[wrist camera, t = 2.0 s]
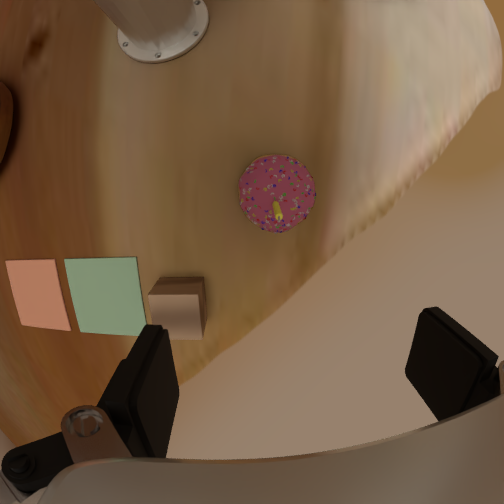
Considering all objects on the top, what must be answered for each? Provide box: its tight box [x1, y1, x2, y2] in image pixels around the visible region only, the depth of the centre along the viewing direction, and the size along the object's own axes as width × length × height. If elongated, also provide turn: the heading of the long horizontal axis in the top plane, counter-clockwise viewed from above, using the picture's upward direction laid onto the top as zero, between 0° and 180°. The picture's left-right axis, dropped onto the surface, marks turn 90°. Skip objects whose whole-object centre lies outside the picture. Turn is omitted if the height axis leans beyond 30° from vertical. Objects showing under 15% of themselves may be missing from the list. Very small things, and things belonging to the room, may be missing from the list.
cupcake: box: [239, 155, 316, 233], centre depth 30 cm, size 9×8×12 cm
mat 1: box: [6, 259, 72, 331], centre depth 38 cm, size 12×12×1 cm
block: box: [148, 277, 207, 340], centre depth 37 cm, size 6×6×6 cm
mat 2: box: [64, 257, 147, 336], centre depth 39 cm, size 12×12×1 cm
